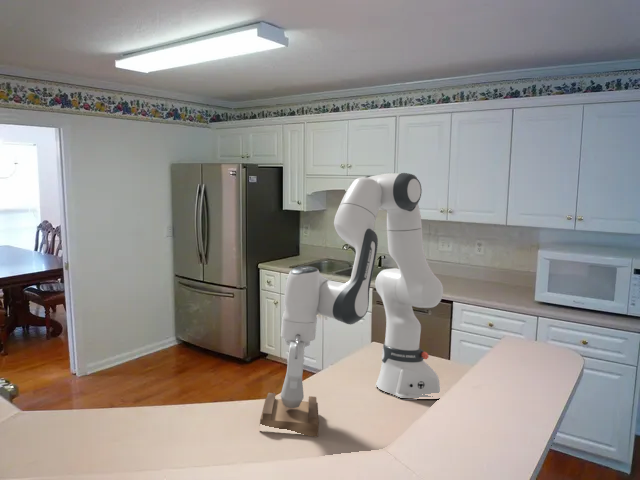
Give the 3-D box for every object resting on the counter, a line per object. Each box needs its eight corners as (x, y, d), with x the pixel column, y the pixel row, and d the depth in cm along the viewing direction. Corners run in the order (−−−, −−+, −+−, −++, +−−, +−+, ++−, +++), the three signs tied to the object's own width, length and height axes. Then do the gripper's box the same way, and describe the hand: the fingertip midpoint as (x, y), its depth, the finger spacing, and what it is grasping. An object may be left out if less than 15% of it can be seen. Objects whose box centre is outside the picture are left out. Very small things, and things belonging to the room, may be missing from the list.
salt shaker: (299, 411, 115) (304, 358, 114) (277, 407, 116) (281, 355, 115) (304, 402, 120) (309, 353, 120) (283, 399, 121) (288, 349, 121)
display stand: (316, 413, 125) (318, 397, 125) (317, 436, 111) (319, 418, 111) (264, 409, 125) (266, 392, 125) (259, 431, 111) (260, 412, 111)
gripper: (311, 341, 107) (305, 400, 108) (310, 323, 128) (306, 373, 128) (284, 339, 107) (278, 398, 107) (287, 321, 128) (283, 371, 128)
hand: (293, 384), depth 118 cm, fingers closed on salt shaker, 3 cm apart
